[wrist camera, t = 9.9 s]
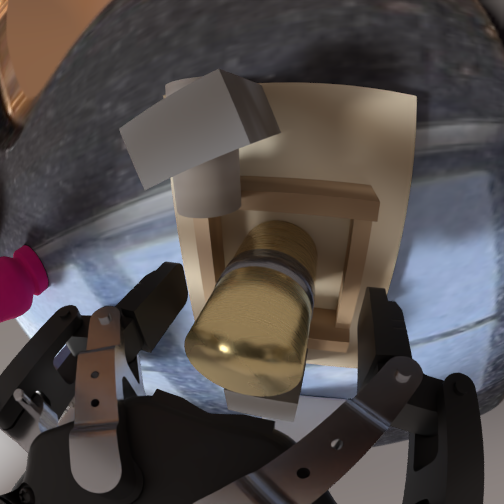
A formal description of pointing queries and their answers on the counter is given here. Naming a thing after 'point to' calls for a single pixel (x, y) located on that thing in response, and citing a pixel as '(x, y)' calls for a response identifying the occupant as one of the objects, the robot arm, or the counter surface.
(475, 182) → the counter surface
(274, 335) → the cylinder
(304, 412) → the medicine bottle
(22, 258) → the pepper mill
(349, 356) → the wooden board with frame
